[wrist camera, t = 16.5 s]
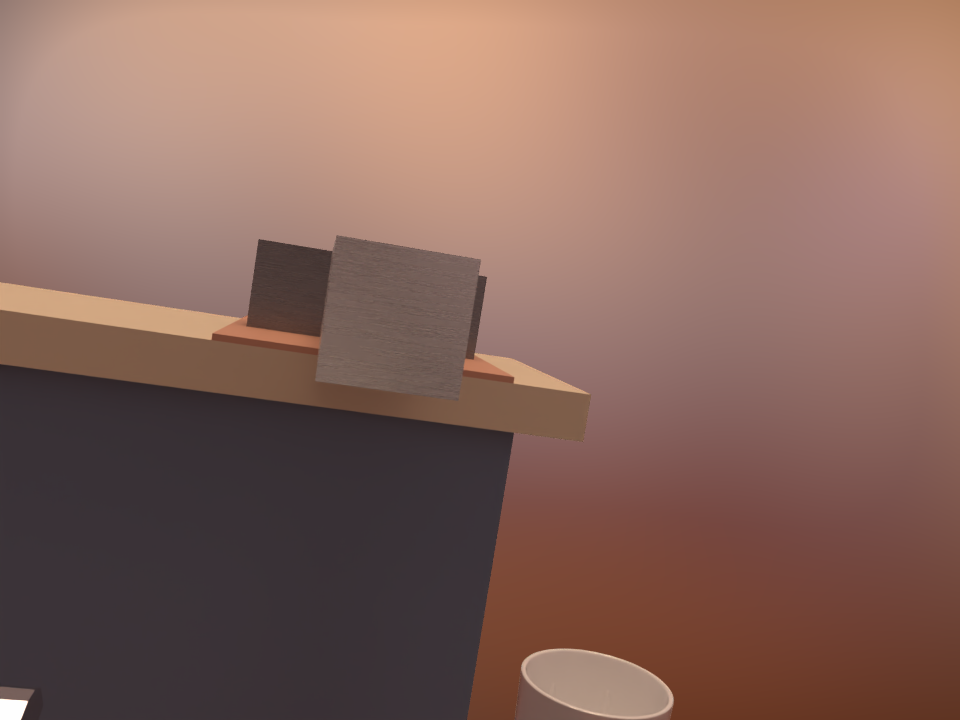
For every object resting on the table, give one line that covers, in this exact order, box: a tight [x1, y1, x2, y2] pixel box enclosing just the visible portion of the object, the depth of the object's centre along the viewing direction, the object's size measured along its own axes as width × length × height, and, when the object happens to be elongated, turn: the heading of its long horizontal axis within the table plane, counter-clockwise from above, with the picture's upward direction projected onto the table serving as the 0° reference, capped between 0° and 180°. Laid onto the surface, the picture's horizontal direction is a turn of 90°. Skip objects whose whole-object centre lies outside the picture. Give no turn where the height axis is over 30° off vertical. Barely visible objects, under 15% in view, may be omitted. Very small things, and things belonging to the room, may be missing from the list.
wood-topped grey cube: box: [0, 282, 591, 720], centre depth 32 cm, size 26×12×26 cm, turn 99°
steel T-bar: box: [246, 236, 487, 401], centre depth 26 cm, size 8×16×3 cm, turn 10°
